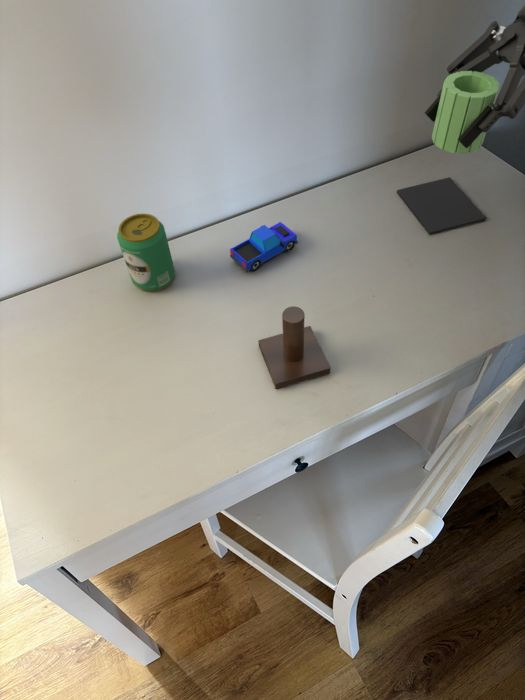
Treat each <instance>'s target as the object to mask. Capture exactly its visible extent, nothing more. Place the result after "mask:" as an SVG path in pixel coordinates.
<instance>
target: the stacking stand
mask: <svg viewBox="0 0 525 700" xmlns="http://www.w3.org/2000/svg"><path fill="white" fill-rule="evenodd" d="M305 315H306V314H305V311H304V310H303V309H302V308H301V307H299V306H295V305H294V306H293V305H291V306H288V307H286V308H285V309H284V310H283V311H282V314H281V317H282V333H280V334H276V335H273V336H269V337H265V338H261V339H258V340H257V342H258V343H257V344H258V347H259V350H260V354H261V356H262V358H263V360H264V363H265V366H266V368H267V371H268V373H269V376H270V378H271V381H272V384H273V386H274V389H275V390H278V389H281V388H286V387H288V386H292V385H296V384H299V383H303V382H305V381H310V380H312V379H316V378H319V377H323V376H327V375H329V374H331V369H332V367H331V366H330V363H329V362H328V359H327V357H326V356H325V354H324V351H323V349H322V347H321V345H320V343H319V341H318V339H317V337H316V334H315V333H314V331H313V328H312V327H311V325H309V326H305V317H306V316H305Z"/></svg>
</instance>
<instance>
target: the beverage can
mask: <svg viewBox="0 0 525 700" xmlns="http://www.w3.org/2000/svg"><path fill="white" fill-rule="evenodd" d="M166 233H167V232H166V230H165V225H164V224H163V223H162V222H161V221H160V220H159V219H158V217H156V216H155V215H153V214H149V213H135V214H132V215H130V216H128V217H126V218H124V219H123V220H122V221H121V222H120V224H119V225H118V231H117V234H116V240H117V242H118V245H119V248H120V251H121V253H122V257H123V259H124V262H125V265H126V268H127V271H128V273H129V276H130V280H131V281H132V283H133V285H134V286H135V287H137V288H138V289H139V290H140V291H144V292H147V293H156V292H160V291H163V290H164V289H166V288H168V287H169V286H170V285H171V283H172V282H173V281H174V277H175V274H176V269H175V265H174V261H173V257H172V253H171V249H170V246H169V245H170V244H169V241H168V237H167V234H166Z"/></svg>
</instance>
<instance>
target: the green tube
mask: <svg viewBox="0 0 525 700" xmlns="http://www.w3.org/2000/svg"><path fill="white" fill-rule="evenodd" d="M442 88H443V89H442ZM442 88H441V89H442V93H441V98H440V102H439V107H438V111H437V116H436V120H435V121H434V124H433V129H432V133H431V140H432V143H433V145H434V146H435V147H437V148H439V149H440V150H441V151H443V152H447V153H451V154H456V155H459V154H471V153H473V152H476V151H478V150H479V149H481V147H482V145H483V144H484V141H485V137H486V134H487V132H485V133H484V132H482V133H481V134H480V135H479V136H478V137H477V138H476V139H475V140H474V141H473V143H472V144H471V145H470V146H469V147H468V148H465V147H464V146H463V145H462V144H461V143H460V142H459V140H458V138H459V137H460V136H461V135H462V134H463V133H464V131H465V130H466V129H467V128H468V127H469V126H470V125H471V124H472V123H473V121H474V120H475V119H476V118H477V117H478V116H479V115H480V114H481V113H482V112H483V110H484V109H485V108H486V107H487V106H489V107H491V108H492V109H493V107H492V104H495V101H496V99H497V97H498V94H499V92H500V90H501V84H500V83H499V81H498V80H497V78H496V77H494V76H492V75H491V74H488V73H485V72H476V71H474V72H472V71H460V72H456V73H453V74H451V75H449V74H448V75H447V76H446V78H445V80H443V85H442Z"/></svg>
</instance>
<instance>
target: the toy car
mask: <svg viewBox="0 0 525 700" xmlns="http://www.w3.org/2000/svg"><path fill="white" fill-rule="evenodd" d="M297 244H299V240H298V235H297V234H296V233H295V232H294V231H293V230H292V229H291V228H289V227H288V226H287V225H285V224H284V223H283V222H281V221H279V222H277V223H276V224H274V225H272V226H270V227H268V226H267V225H265V224H264V225H261V226H260V227H258V228H256V229H254V230H252V231H251V233H250V236H249V238H247V239H245V240H244V241H242V242H240V243H238V244H236V245H235V246H233V247H231V248H230V249H229V253H230V254H229V257H230V258H231V259H232V260H233V262H235V263H236V264H237V265H238V266H239V267H240V268H242V269H243V270H244V271H245V272H246V273H248V272H250V271H252V272H256V271H258V270H259V269H260V268H261V266H262V264H263V263H265V262H266V261H268V260H270V259H272V258H273V257H275V256H277V255H278V254H280V253H282V252H284V251H286V252H291V251H292V250H293V249H294V247H295V246H296V245H297Z"/></svg>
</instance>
